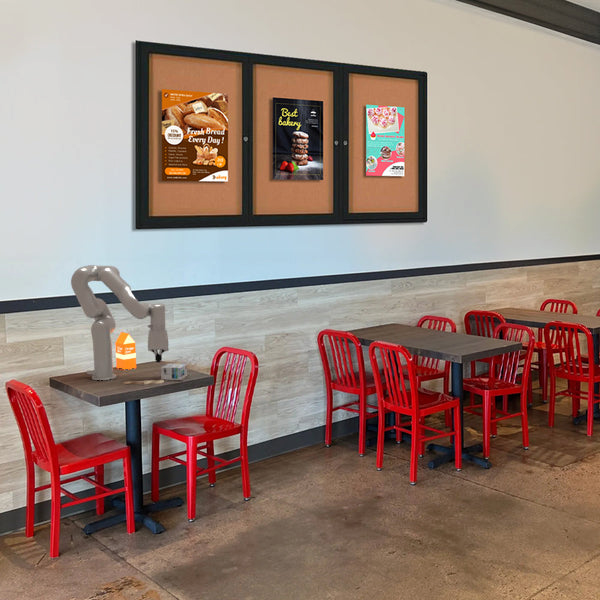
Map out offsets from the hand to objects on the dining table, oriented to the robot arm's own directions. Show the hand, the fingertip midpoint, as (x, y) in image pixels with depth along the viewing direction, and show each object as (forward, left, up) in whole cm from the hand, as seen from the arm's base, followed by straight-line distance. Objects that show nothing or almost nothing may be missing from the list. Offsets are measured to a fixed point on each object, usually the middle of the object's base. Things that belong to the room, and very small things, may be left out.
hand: (158, 361), depth 396 cm
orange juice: (-24, +25, -9) cm, 36 cm away
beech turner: (-4, -11, -9) cm, 15 cm away
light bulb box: (+3, 0, -5) cm, 6 cm away
